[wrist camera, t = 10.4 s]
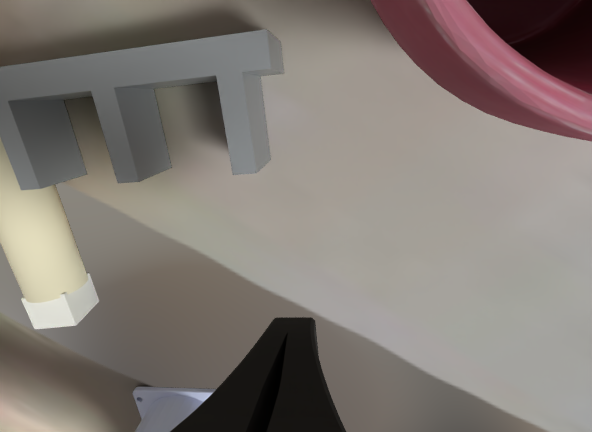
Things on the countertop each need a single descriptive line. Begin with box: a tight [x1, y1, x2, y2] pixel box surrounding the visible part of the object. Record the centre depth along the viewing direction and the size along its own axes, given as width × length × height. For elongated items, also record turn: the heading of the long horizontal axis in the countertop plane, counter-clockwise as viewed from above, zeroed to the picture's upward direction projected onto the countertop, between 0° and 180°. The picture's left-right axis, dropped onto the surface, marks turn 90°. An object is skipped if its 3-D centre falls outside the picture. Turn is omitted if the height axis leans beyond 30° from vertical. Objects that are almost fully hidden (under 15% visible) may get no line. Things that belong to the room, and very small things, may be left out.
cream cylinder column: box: [0, 138, 99, 329], centre depth 21 cm, size 13×4×4 cm, turn 6°
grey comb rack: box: [0, 29, 284, 190], centre depth 18 cm, size 6×22×4 cm, turn 96°
